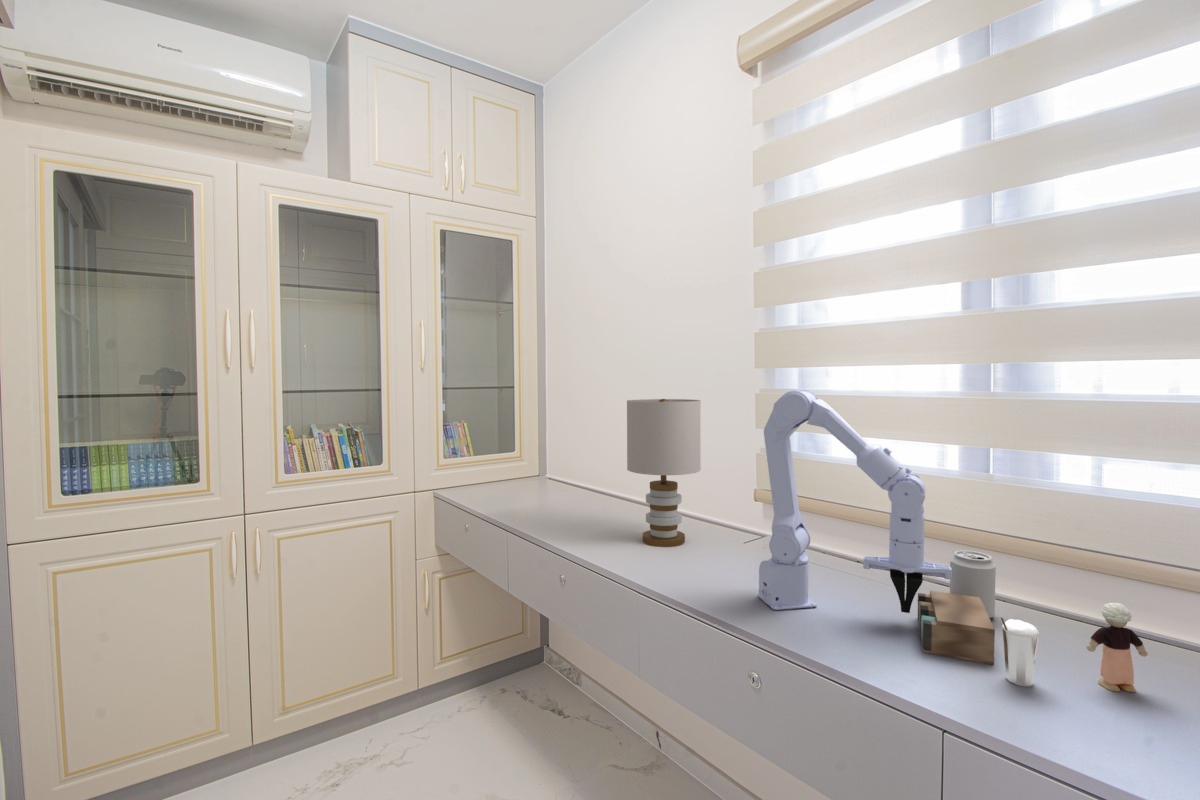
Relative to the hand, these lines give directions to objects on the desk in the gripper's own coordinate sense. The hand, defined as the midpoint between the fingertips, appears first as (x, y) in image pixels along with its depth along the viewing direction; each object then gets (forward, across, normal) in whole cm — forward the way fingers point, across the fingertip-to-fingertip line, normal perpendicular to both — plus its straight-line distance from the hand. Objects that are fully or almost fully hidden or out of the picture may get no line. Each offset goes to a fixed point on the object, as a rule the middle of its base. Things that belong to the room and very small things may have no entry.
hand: (905, 610), depth 107 cm
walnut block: (+3, +7, -4) cm, 9 cm away
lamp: (+3, -60, +34) cm, 69 cm away
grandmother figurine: (+3, +27, -11) cm, 30 cm away
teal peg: (+2, +7, -7) cm, 10 cm away
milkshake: (+3, +14, -16) cm, 21 cm away
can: (+3, +12, +11) cm, 16 cm away
